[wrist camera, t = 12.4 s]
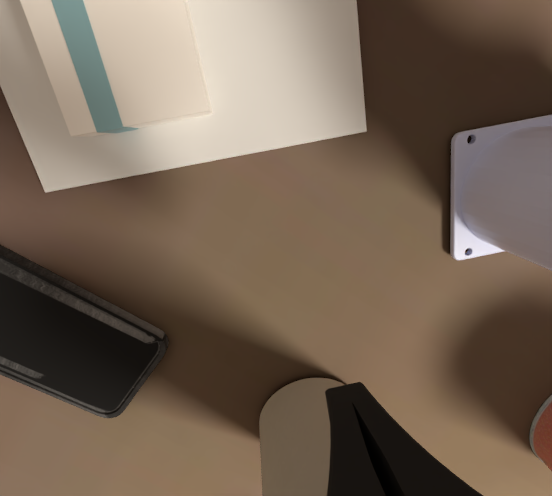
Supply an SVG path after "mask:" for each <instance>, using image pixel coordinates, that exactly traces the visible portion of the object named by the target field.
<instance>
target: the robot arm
mask: <svg viewBox="0 0 552 496" xmlns="http://www.w3.org/2000/svg"><path fill="white" fill-rule="evenodd" d="M469 136H471V138H472V139H471V142H470V143H468V142H467V139H468V137H469ZM466 249H468V252H467V253H465V250H466ZM503 251H507V252H509V253H512V254H514V255H516V256H519V257H521V258H523V259H526V260H528V261H530V262H533V263H535V264H537V265H540V266H542V267H544V268H547V269H549V270H551V271H552V114H551V115H546V116H541V117H535V118H530V119H525V120H520V121H515V122H509V123H504V124H499V125H494V126H488V127H483V128H478V129H473V130H468V131H462V132H458V133H456V134H455V135H454V136H453V138H452V141H451V237H450V254H451V256H452V258H454V259H456V260H464V259H469V258H474V257H479V256H484V255H488V254H493V253H498V252H503ZM325 395H326V401H327V408H328V414H329V420H330V440H331V442H330V467H329V480H328V489H327V496H483V495H481V494H480V493H479V492H477V491H476V490H474V489H473V488H472V487H470V486H469V485H468V484H466V483H465V482H464V481H463V480H461V479H460V478H459V477H457V476H456V475H455V474H453V473H452V472H451V471H450V470H449V469H447V468H446V467H445V466H444V465H442V464H441V463H440V462H439V461H438V460H436V459H435V458H434V457H433V456H432V455H431V454H430V453H428V452H427V451H426V450H425V449H424V448H423V447H422V446H421V445H420V444H419V443H417V442H416V441H415V440H414V439H413V438H412V437H411V436H410V435H409V434H408V433H407V432H406V431H405V430H404V429H403V428H402V427H401V426H400V425H399V424H398V423H397V422H396V421H395V420H394V419H393V418H392V417H391V416H390V415H389V414H388V413H387V412H386V411H385V409H384V408H383V407H382V406H381V405H380V404H379V403H378V402H377V401H376V399H375V398H374V397H373V396H372V395H371V393H370V392H369V391H368V390H367V388H366V387H365V386H364V385H363V384H362V383H361V382H357V383H353V384H348V385H343V386H338V387H334V388H329V389H327V390H326V391H325Z"/></svg>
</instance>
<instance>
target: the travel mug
mask: <svg viewBox="0 0 552 496" xmlns="http://www.w3.org/2000/svg"><path fill="white" fill-rule="evenodd" d="M343 385H345V384H343V383H341V382H338V381H336V380H332V379H327V378H307V379H302V380H298V381H295V382H293V383H290V384H288V385H286V386H284V387H283V388H281V389H280V390H278V391H277V392H276V393H274V394H273V395H272V396H271V397H270V398H269V400H268V401H267V402H266V404H265V405H264V407H263V409H262V411H261V414H260V419H259V431H260V452H261V473H262V495H263V496H327V489H328V480H329V467H330V442H331V440H330V420H329V414H328V408H327V401H326V395H325V391H326V390H327V389H329V388H334V387H338V386H343Z"/></svg>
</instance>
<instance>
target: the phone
mask: <svg viewBox="0 0 552 496" xmlns="http://www.w3.org/2000/svg"><path fill="white" fill-rule="evenodd" d="M167 347H168V338H167V335H166V334H165V333H164V332H163V331H162V330H160V329H159V328H157V327H155V326H153V325H151V324H149V323H147V322H146V321H144V320H142V319H140V318H138V317H136V316H134V315H132V314H130V313H129V312H127V311H125V310H123V309H121V308H119V307H117V306H115V305H113V304H111V303H110V302H108V301H106V300H104V299H102V298H100V297H98V296H96V295H94V294H93V293H91V292H89V291H87V290H85V289H83V288H81V287H79V286H77V285H75V284H74V283H72V282H70V281H68V280H66V279H64V278H62V277H60V276H58V275H56V274H55V273H53V272H51V271H49V270H47V269H45V268H43V267H41V266H39V265H38V264H36V263H34V262H32V261H30V260H28V259H26V258H24V257H22V256H20V255H19V254H17V253H15V252H13V251H11V250H9V249H7V248H5V247H3V246H1V245H0V374H1V375H3V376H5V377H8V378H10V379H12V380H15V381H17V382H20V383H22V384H24V385H27V386H29V387H31V388H34V389H36V390H38V391H41V392H43V393H46V394H48V395H50V396H53V397H55V398H57V399H60V400H62V401H64V402H67V403H69V404H71V405H74V406H76V407H79V408H81V409H83V410H86V411H88V412H90V413H93V414H95V415H97V416H100V417H103V418H113V417H117V416H119V415H120V414H121V413H122V412H123V411H124V410H125V408H126V407H127V406H128V404H129V403H130V402H131V400H132V399H133V397H134V396H135V395H136V393H137V392H138V391H139V389H140V388H141V386H142V385H143V384H144V382H145V381H146V380H147V378H148V377H149V376H150V374H151V373H152V371H153V370H154V369H155V367H156V366H157V365H158V363H159V362H160V360H161V359H162V358H163V356H164V354H165V352H166V350H167Z"/></svg>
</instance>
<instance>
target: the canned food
mask: <svg viewBox="0 0 552 496" xmlns="http://www.w3.org/2000/svg"><path fill="white" fill-rule="evenodd" d="M530 445H531V448H532V450H533V452H534V454H535V455H536V456H537V457H538V458H539V459H540V460H541V461H542V462H543V463H545V464H546V465H547V466H548V468H549V469H550V470H551V471H552V395H551V396H550V397H549V398H548V399H547V400H546V401H545V402H544V403H543V405H542V406H541V407H540V409H539V410H538V412H537V414H536V415H535V417H534V419H533V422H532V425H531V429H530Z"/></svg>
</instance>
